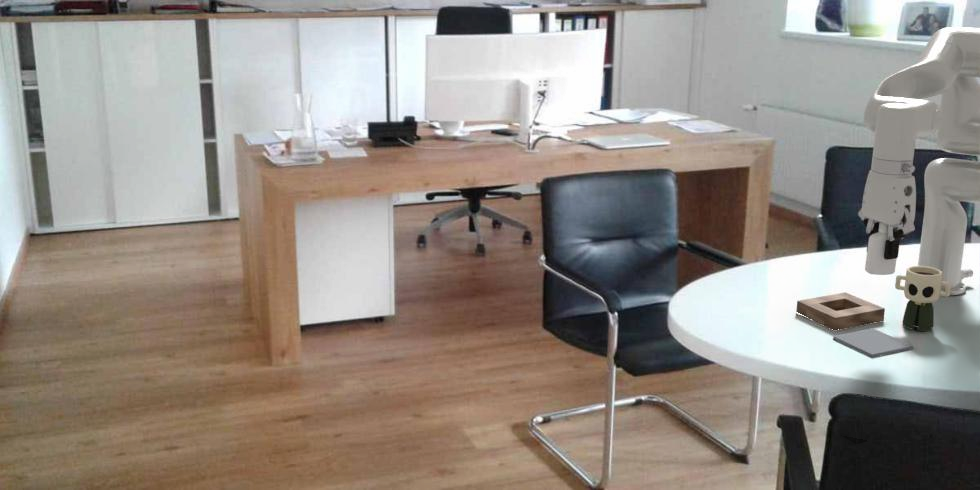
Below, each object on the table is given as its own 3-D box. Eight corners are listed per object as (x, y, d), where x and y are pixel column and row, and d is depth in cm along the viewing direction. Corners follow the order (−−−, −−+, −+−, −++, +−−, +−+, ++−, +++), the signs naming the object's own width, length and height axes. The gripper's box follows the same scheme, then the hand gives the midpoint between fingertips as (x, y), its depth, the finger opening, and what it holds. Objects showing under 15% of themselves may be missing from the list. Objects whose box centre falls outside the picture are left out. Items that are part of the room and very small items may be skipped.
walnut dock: (844, 304, 233) (845, 292, 232) (883, 321, 222) (884, 308, 222) (796, 313, 227) (797, 300, 227) (834, 330, 217) (835, 317, 216)
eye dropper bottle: (866, 267, 209) (873, 211, 205) (895, 271, 206) (903, 215, 203) (863, 273, 205) (870, 216, 202) (892, 277, 203) (900, 220, 199)
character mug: (887, 328, 218) (894, 271, 215) (893, 318, 224) (900, 262, 221) (942, 337, 213) (950, 279, 209) (946, 327, 219) (954, 270, 215)
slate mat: (872, 331, 217) (873, 328, 217) (912, 348, 207) (913, 345, 207) (833, 338, 212) (833, 336, 212) (872, 357, 203) (872, 354, 203)
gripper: (939, 173, 194) (928, 264, 199) (874, 157, 208) (865, 242, 214) (910, 176, 191) (899, 269, 196) (846, 160, 205) (838, 247, 211)
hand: (882, 254), depth 205 cm, fingers closed on eye dropper bottle, 4 cm apart
